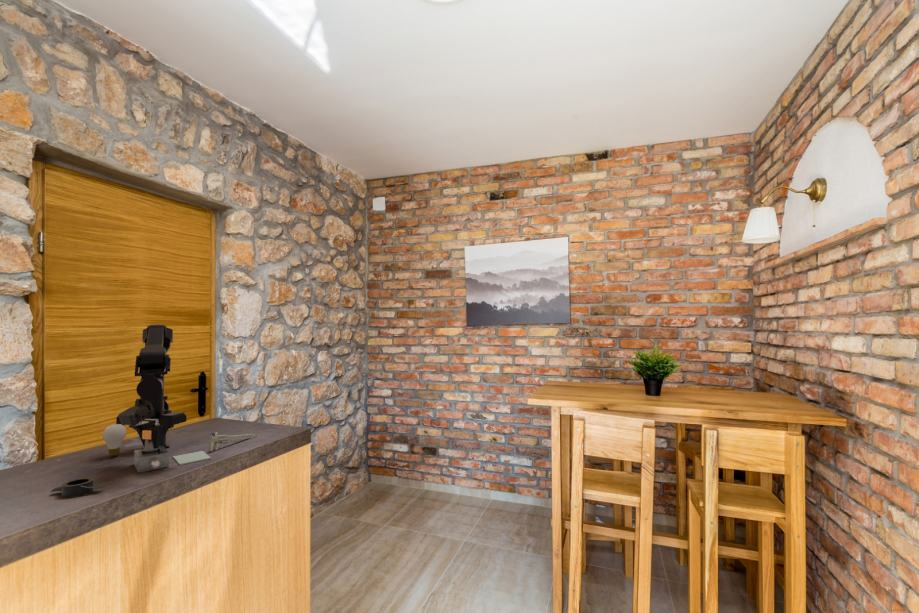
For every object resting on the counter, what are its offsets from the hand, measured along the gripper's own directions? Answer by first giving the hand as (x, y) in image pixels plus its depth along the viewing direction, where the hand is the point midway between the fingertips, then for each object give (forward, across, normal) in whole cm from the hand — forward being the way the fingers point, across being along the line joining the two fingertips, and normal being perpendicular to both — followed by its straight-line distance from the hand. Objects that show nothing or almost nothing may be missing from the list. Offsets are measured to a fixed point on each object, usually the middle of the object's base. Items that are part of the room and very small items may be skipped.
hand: (151, 448), depth 123 cm
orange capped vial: (+4, 0, 0) cm, 4 cm away
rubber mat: (+5, +7, +7) cm, 11 cm away
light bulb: (+5, -19, +6) cm, 21 cm away
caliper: (+6, +8, +24) cm, 26 cm away
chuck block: (+5, +2, -1) cm, 5 cm away
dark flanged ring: (+6, 0, -20) cm, 21 cm away
